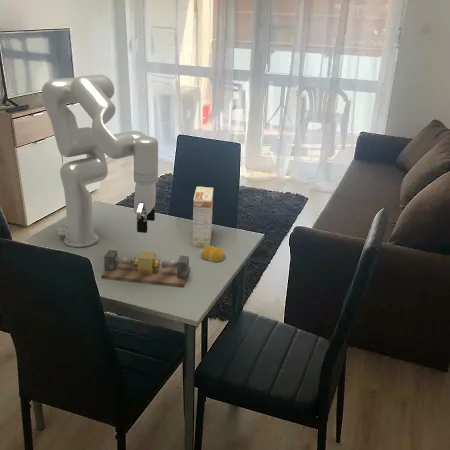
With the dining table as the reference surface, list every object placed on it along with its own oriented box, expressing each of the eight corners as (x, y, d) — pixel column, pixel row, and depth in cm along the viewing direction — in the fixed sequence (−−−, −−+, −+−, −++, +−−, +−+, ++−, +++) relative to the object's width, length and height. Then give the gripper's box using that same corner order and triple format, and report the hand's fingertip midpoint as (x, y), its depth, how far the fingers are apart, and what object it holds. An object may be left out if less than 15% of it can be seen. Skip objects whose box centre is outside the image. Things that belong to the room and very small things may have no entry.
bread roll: (220, 264, 180) (221, 254, 179) (197, 259, 183) (198, 249, 181) (228, 255, 187) (229, 245, 186) (206, 250, 190) (207, 240, 188)
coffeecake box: (194, 230, 205) (196, 186, 198) (212, 231, 205) (214, 187, 197) (191, 246, 192) (192, 199, 184) (209, 247, 192) (212, 200, 184)
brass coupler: (132, 273, 168) (132, 257, 166) (136, 266, 173) (136, 250, 170) (157, 275, 167) (157, 259, 165) (160, 268, 172) (160, 253, 170)
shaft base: (101, 278, 166) (100, 259, 163) (112, 261, 177) (112, 243, 174) (183, 287, 164) (184, 268, 161) (190, 270, 175) (190, 251, 172)
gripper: (141, 167, 165) (142, 214, 171) (126, 184, 149) (127, 235, 156) (163, 169, 164) (163, 217, 171) (150, 186, 148) (150, 238, 155)
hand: (146, 226), depth 163 cm, fingers open, 9 cm apart
